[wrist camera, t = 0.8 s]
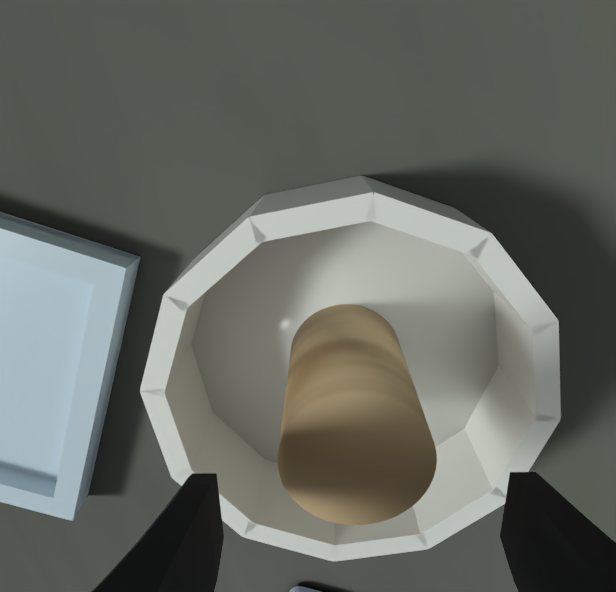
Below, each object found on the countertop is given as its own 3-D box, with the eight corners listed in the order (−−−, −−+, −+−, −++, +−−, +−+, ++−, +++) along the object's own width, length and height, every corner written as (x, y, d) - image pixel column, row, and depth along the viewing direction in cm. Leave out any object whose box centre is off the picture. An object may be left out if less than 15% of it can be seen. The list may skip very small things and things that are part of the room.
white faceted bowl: (430, 515, 23) (452, 593, 19) (148, 434, 22) (112, 501, 18) (576, 250, 18) (643, 286, 14) (228, 128, 17) (203, 132, 13)
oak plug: (376, 414, 20) (399, 541, 14) (276, 384, 20) (258, 501, 14) (417, 324, 19) (463, 423, 13) (310, 289, 19) (306, 375, 12)
